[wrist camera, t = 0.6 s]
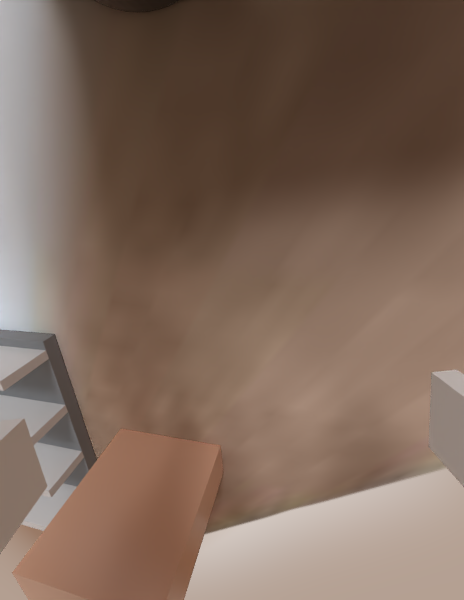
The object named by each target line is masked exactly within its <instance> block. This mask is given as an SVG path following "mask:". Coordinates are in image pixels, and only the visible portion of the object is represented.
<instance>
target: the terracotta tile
mask: <svg viewBox="0 0 464 600" xmlns="http://www.w3.org/2000/svg"><path fill="white" fill-rule="evenodd" d="M222 476H223V463H222V454H221V446H220V445H215V444H209V443H203V442H197V441H191V440H185V439H180V438H174V437H168V436H162V435H156V434H150V433H145V432H139V431H133V430H127V429H120V430H119V432H118V433H117V434H116V436H115V437H114V438H113V440H112V441H111V442H110V444H109V445H108V446H107V448H106V449H105V450H104V452H103V453H102V454H101V456H100V457H99V458H98V459H97V461H96V462H95V463H94V465H93V466H92V467H91V469H90V470H89V471H88V473H87V474H86V475H85V477H84V478H83V479H82V481H81V482H80V483H79V485H78V486H77V487H76V489H75V490H74V491H73V493H72V494H71V495H70V497H69V498H68V499H67V501H66V502H65V503H64V505H63V506H62V507H61V509H60V510H59V511H58V513H57V514H56V515H55V517H54V518H53V519H52V521H51V522H50V523H49V525H48V526H47V527H46V529H45V530H44V531H43V533H42V534H41V535H40V537H39V538H38V539H37V541H36V542H35V543H34V545H33V546H32V547H31V548H30V550H29V551H28V553H27V554H26V555H25V556H24V558H23V559H22V561H21V562H20V563H19V565H18V566H17V567H16V568H15V570H14V571H13V572H12V573H13V575H14V577H15V578H16V580H17V582H18V583H19V585H20V586H21V588H22V590H23V591H24V593H25V595H26V596H27V598H28V600H184V597H185V594H186V591H187V588H188V585H189V581H190V578H191V575H192V572H193V569H194V565H195V562H196V559H197V556H198V553H199V549H200V546H201V543H202V540H203V537H204V533H205V530H206V527H207V524H208V521H209V517H210V514H211V511H212V508H213V504H214V501H215V498H216V495H217V492H218V488H219V485H220V482H221V479H222Z"/></svg>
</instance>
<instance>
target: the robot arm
mask: <svg viewBox="0 0 464 600" xmlns="http://www.w3.org/2000/svg"><path fill="white" fill-rule="evenodd" d="M96 1H97V2H99V3H102V4H104V5H106V6H109V7H111V8H114V9H118V10H123V11H129V12H144V11H151V10H156V9H160V8H163V7H166V6H168V5H171V4H173V3H175V2H177V1H179V0H96ZM429 448H430V449H431V450H432V451H433V452H434V453H435V455H436V456H437V457H438V458H439V459H440V460H441V461H442V463H443V464H444V465H445V466H446V467H447V468H448V469H449V471H450V472H451V473H452V474H453V475H454V476H455V477H456V479H457V480H458V481H459V482H460V483H461V484H462V485H463V487H464V374H462V373H461V372H459V371H458V370H449V371H440V372H432V374H431V400H430V425H429ZM46 488H47V483H46V481H45V478H44V475H43V472H42V469H41V466H40V463H39V460H38V457H37V454H36V451H35V448H34V445H33V442H32V439H31V436H30V433H29V430H28V427H27V424H26V422H25V419H24V418H20V419H11V420H3V421H1V422H0V554H1V552H2V551H3V549H4V548H5V546H6V545H7V544H8V542H9V541H10V539H11V538H12V536H13V535H14V533H15V532H16V531H17V529H18V528H19V526H20V525H21V524H22V522H23V521H24V519H25V518H26V516H27V515H28V514H29V512H30V511H31V509H32V508H33V506H34V505H35V504H36V502H37V501H38V499H39V498H40V496H41V495H42V494H43V492H44V491H45V489H46Z"/></svg>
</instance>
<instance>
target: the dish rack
mask: <svg viewBox="0 0 464 600" xmlns="http://www.w3.org/2000/svg"><path fill="white" fill-rule="evenodd" d="M20 418H24V419H25V422H26V424H27V427H28V430H29V433H30V436H31V439H32V442H33V445H34V448H35V451H36V454H37V457H38V460H39V463H40V466H41V469H42V472H43V475H44V478H45V481H46V483H47V488H46V489H45V491H44V492H43V494H42V495H41V496H40V498H39V499H38V501H37V502H36V504H35V505H34V506H33V508H32V509H31V511H30V512H29V514H28V515H27V516H26V518H25V519H24V521H23V522H22V525H26V526H29V527H32V528H36V529H39V530H42V531H44V530H45V529H46V527H47V526H48V525H49V523H50V522H51V521H52V519H53V518H54V517H55V515H56V514H57V513H58V511H59V510H60V509H61V507H62V506H63V505H64V503H65V502H66V501H67V499H68V498H69V497H70V495H71V494H72V493H73V491H74V490H75V489H76V487H77V486H78V485H79V483H80V482H81V481H82V479H83V478H84V477H85V475H86V474H87V473H88V471H89V470H90V469H91V467H92V466H93V465H94V463H95V462H96V461H97V460H96V457H95V454H94V451H93V448H92V445H91V442H90V439H89V436H88V433H87V430H86V427H85V424H84V421H83V418H82V415H81V412H80V409H79V406H78V403H77V400H76V397H75V394H74V391H73V388H72V385H71V382H70V379H69V376H68V373H67V370H66V367H65V364H64V361H63V358H62V355H61V352H60V349H59V346H58V343H57V340H56V337H55V334H45V333H33V332H21V331H9V330H0V422H1V421H3V420H11V419H20Z"/></svg>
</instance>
